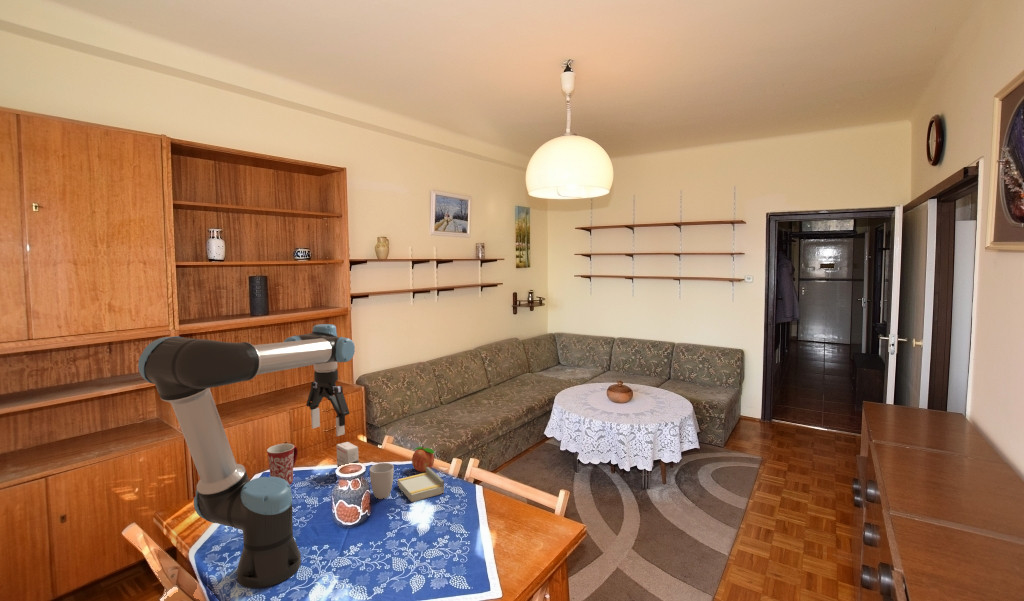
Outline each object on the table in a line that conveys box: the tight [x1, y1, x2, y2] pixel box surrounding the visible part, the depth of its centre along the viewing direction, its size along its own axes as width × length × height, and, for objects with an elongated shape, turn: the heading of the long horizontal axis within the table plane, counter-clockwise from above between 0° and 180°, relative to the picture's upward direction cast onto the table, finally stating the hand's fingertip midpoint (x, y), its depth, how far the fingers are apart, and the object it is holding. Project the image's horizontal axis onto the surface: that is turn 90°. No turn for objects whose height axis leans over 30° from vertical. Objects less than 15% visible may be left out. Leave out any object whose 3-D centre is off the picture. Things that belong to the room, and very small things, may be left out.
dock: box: [397, 467, 445, 503], centre depth 174 cm, size 14×12×4 cm
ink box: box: [336, 441, 360, 467], centre depth 185 cm, size 9×5×12 cm, turn 47°
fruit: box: [411, 444, 435, 473], centre depth 190 cm, size 9×10×10 cm
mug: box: [266, 443, 299, 486], centre depth 180 cm, size 13×9×14 cm
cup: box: [369, 462, 395, 500], centre depth 169 cm, size 8×8×10 cm
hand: (328, 431), depth 166 cm, fingers open, 13 cm apart
